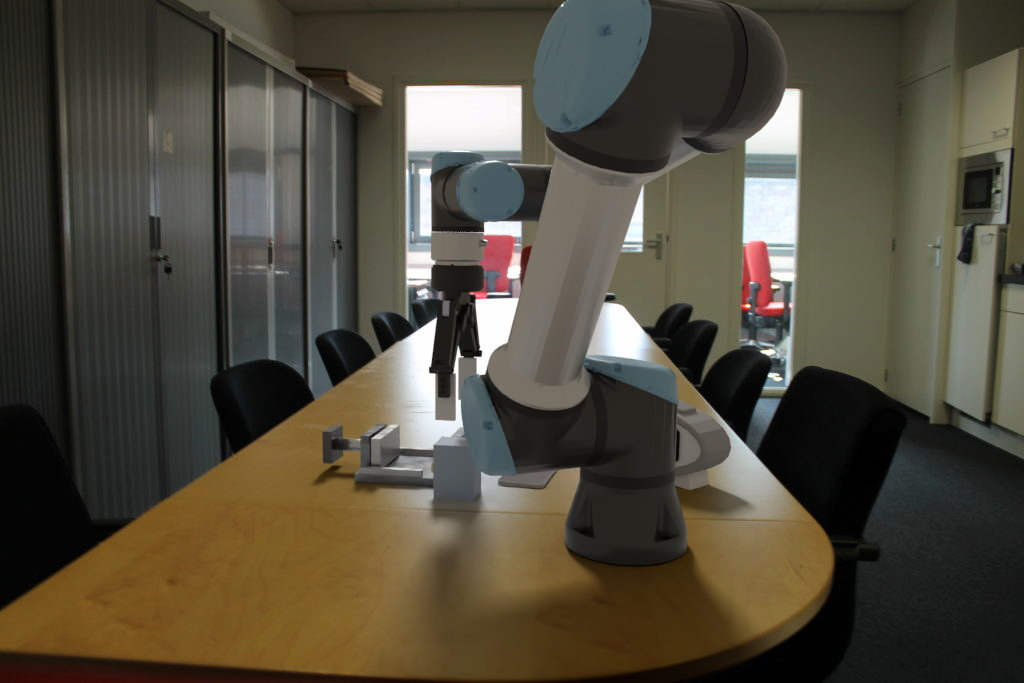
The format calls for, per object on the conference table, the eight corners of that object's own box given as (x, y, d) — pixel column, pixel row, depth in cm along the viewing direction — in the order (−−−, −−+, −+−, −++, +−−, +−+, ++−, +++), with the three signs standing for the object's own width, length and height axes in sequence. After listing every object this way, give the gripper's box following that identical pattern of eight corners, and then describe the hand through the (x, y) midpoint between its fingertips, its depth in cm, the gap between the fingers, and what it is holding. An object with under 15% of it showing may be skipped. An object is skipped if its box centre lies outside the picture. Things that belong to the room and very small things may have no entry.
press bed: (449, 487, 126) (449, 444, 125) (354, 481, 128) (354, 439, 128) (469, 462, 140) (469, 424, 139) (383, 457, 142) (383, 420, 141)
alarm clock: (591, 463, 140) (593, 388, 139) (616, 457, 144) (618, 384, 143) (704, 496, 123) (707, 411, 121) (729, 488, 127) (733, 406, 125)
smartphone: (562, 460, 140) (543, 485, 126) (562, 465, 140) (543, 490, 126) (520, 457, 142) (496, 480, 128) (520, 462, 142) (496, 486, 128)
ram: (380, 471, 130) (380, 438, 129) (316, 467, 131) (316, 435, 131) (399, 454, 139) (399, 424, 139) (340, 451, 141) (339, 421, 140)
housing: (474, 501, 120) (474, 446, 119) (428, 498, 121) (428, 444, 120) (481, 490, 125) (481, 438, 124) (437, 488, 126) (436, 436, 125)
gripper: (463, 268, 106) (462, 431, 109) (499, 260, 130) (498, 393, 133) (406, 266, 107) (407, 428, 110) (452, 259, 131) (452, 391, 134)
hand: (457, 409), depth 121 cm, fingers open, 13 cm apart
